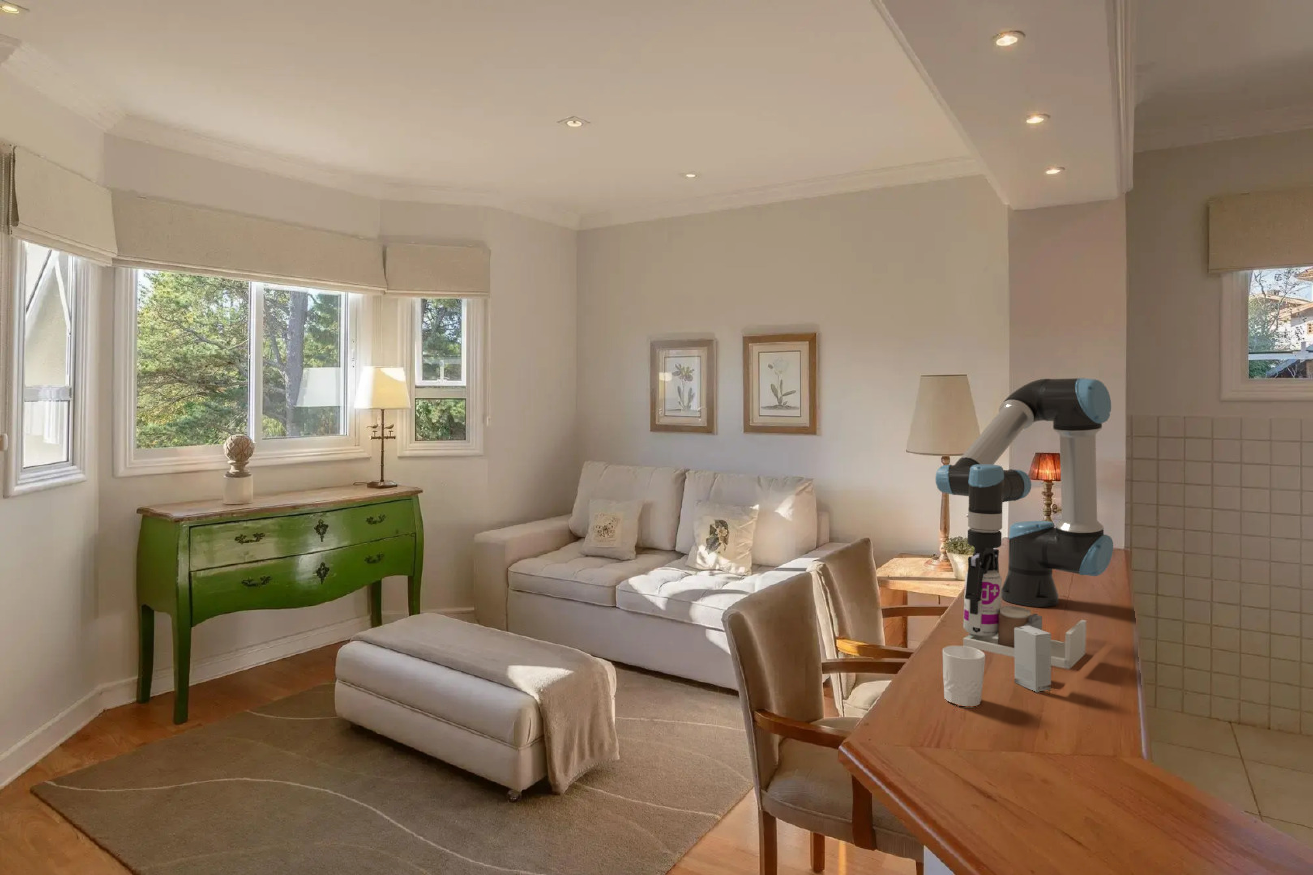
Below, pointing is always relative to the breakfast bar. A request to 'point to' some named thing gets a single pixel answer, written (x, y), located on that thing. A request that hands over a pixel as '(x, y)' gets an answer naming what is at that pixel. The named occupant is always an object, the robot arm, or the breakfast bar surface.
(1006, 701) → the breakfast bar surface
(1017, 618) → the jar
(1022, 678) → the skincare box
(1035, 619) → the pusher
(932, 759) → the breakfast bar surface
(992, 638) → the lane
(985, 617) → the supplement can
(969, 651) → the white cup
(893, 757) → the breakfast bar surface
